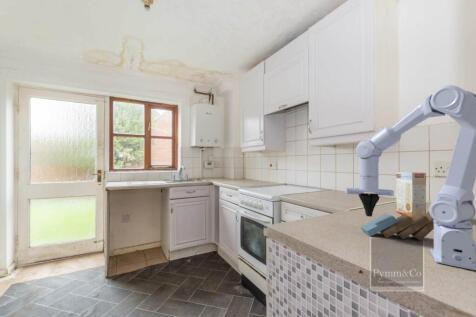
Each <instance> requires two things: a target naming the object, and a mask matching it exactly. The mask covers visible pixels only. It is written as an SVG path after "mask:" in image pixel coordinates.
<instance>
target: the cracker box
mask: <svg viewBox="0 0 476 317" xmlns="http://www.w3.org/2000/svg"><path fill="white" fill-rule="evenodd" d="M395 206H396V207H395V208H396V212H395V213H398V214H400V213H401V215H404V214H405V215H407V216H409V217H412V216H414V215H415V214H417V213H420V214H422V215H425V214H426V213H427V172H417V171H396V205H395Z"/></svg>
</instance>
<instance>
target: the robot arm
mask: <svg viewBox="0 0 476 317" xmlns="http://www.w3.org/2000/svg"><path fill="white" fill-rule="evenodd" d="M446 115H448V116H449V117H450V118H451V119H453V120H454V121H455V122H457V124H458V125H459V128H458V132H457V135H456V136H457V137H456V139H455V143H454V146H453V147H454V148H453V151H452V154H451V157H450V158H451V159H450V162H449V166H448V168H447V169H448V170H447V173H446V178H445V181H444V185H443V186H442V188H441V189H440V190H439V192H438V193H437V195H436V198H435V200H433V201H432V202H431V203H430V205H429V208H428V212H429V213H430V215H431V217H432V218H433V219H434V229H433V248H430V249H429V252H430V254H431V256H432V258H433V260H434V262H435V263H437V264H442V265H447V266H452V267H458V268H461V269H468V270H472V271H476V241H475V240H474V236H473V234H474V233H473V231H474V229H473V228H474V227H473V223H472V222H471V220H472V219H474V217H475V216H476V207H475V205H474V203H475V202H474V201H475V194H474V191H473V189H474V187H475V184H476V183H475V182H476V93H473V91H469V90H465V89H463V88H462V87H459V86H458V85H450V84H449V85H448V84H447V85H445V86H442V87H440V88H438V89H437V90H435V91H434V93H433V94H429V95H428V96H426V97H425V98H424V100H423V101H422V102H420V104H419V105H417V106H416V107H415V108H414V109H413V110H411V111H410V112H409V113H408V114H407V115H405V116H404V117H403V118H402V119H400V120H399V121H398V122H397V123H395V124H394V125H393V126H385V127H381V128H379V132H377V133H375V135H373V136H372V137H369V138H367V141H366V140H362V141H360V142H359V143H358V144H357V146H356V148H355V153H356V155H357V157H358V158H359V159H358V160H359V161H358V162H359V163H358V166H359V168H358V169H359V170H358V172H359V174H358V175H359V176H358V177H359V179H358V180H359V181H358V183H359V184H358V186H359V187H357V188H354V187H351V188H350V187H345V190H344V191H345V195H358V197H359V200H360V201H361V204H362V206H363V209H364V213H365V216H366V217H373V212H374V210H375V207H376V205H377V204H378V202H379V200H380V196H389V197H394V196H395V190H394V189H382V188H381V189H380V188H379V162H380V160H379V159H380V157H381V156H382V154H383V152H384V151H386V150H387V149H389V148H390V147H392V146H393V145H395V144H396V143H398V142H399V141H401V137H402V134H404V133H406V132H407V131H409V130H411V129H412V128H414V127H415V126H417V125H419V124H421V123H422V122H424V121H425V120H427V119H430V118H435V117H443V116H446Z"/></svg>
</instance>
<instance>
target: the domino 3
mask: <svg viewBox="0 0 476 317" xmlns="http://www.w3.org/2000/svg"><path fill="white" fill-rule="evenodd" d="M412 219H413V220H414V221H415V224H413V225H411V226H409V227H407V228H405V229H403V230H401V231H399V232H397V233H395V234H394V235H396V236H397V237H398V238H400V239H402V240H405V239H407V238H408V237H410V236H412V235H411V234H413V233H414V232H416V231H417V230H419V229H420V228H422V227H423V226H425V225H426V224H428V223H429V222H431V221H430V220H429V219H428V217H427V216H425V215H422V214H420V213H417V214H415V215H414V216H412Z"/></svg>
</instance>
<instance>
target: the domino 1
mask: <svg viewBox="0 0 476 317" xmlns="http://www.w3.org/2000/svg"><path fill="white" fill-rule="evenodd" d="M396 223H397V220H396V217H395V216H393V215H391V214H388V213H384V214H381V216H378V217H376V218H375V219H373V220H371V221H369V222H367V223H365V224H363V225H361V226H360V229H361V231H362V232H363V234H366V235H367V236H369V237H372V236H374V235H377V234H378V233H380V231H382V230H384V229H386V228H388V227H390V226H392V225H394V224H396Z"/></svg>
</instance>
